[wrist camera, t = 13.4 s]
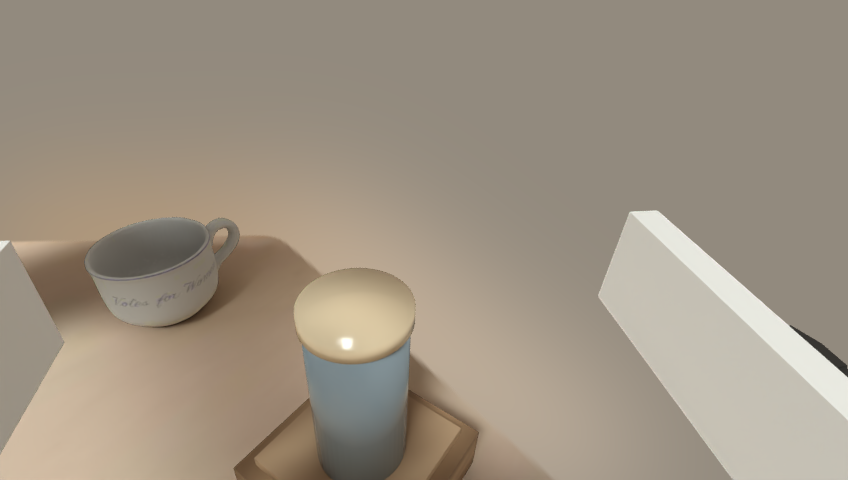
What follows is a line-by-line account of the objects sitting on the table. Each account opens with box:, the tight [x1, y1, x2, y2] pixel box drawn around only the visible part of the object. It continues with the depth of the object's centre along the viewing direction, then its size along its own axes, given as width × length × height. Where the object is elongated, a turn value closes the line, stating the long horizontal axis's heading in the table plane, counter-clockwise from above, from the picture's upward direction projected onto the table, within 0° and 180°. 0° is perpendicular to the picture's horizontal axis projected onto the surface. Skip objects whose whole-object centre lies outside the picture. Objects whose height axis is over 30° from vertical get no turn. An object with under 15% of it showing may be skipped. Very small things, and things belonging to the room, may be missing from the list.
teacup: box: [84, 217, 240, 327], centre depth 47 cm, size 14×11×8 cm
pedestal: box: [234, 390, 479, 480], centre depth 33 cm, size 12×12×5 cm
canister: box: [294, 268, 416, 480], centre depth 28 cm, size 6×6×13 cm
